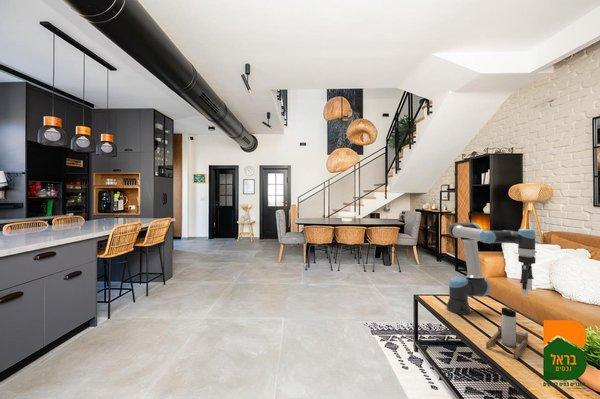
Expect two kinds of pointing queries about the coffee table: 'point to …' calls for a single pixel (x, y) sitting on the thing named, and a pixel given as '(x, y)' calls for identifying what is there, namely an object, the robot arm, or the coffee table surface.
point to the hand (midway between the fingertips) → (526, 292)
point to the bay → (520, 339)
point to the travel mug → (509, 327)
